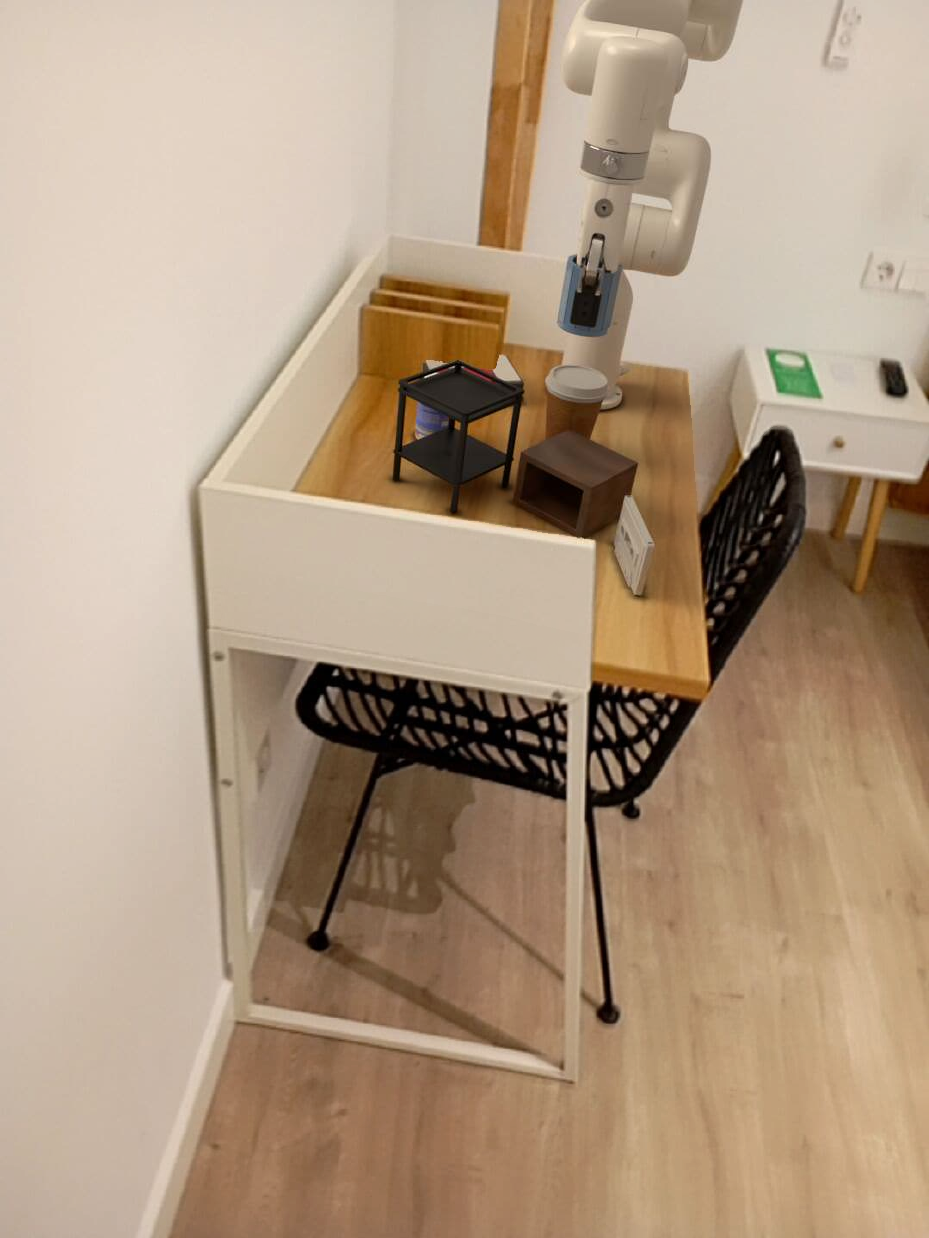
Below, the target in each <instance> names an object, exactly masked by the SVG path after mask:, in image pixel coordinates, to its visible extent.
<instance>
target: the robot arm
mask: <svg viewBox="0 0 929 1238" xmlns="http://www.w3.org/2000/svg"><path fill="white" fill-rule="evenodd" d="M743 3H744V0H585V1H583V3H582V4H581V5H580V7H579V8H578V10H577V12H576V14H575V16H574V18H573V21H572V22H571V24H570V27H569V29H568V32H567V35H566V37H565V40H564V43H563V47H562V52H561V57H560V58H561V59H560V71H561V78H562V81H563V84H565V87H566V88H567V89H568V90H569V91H571V92H573V93H575V94H578V95H583V96H590V102H589V108H588V113H587V120H586V125H585V132H584V137H583V138H584V139H583V143H582V149H581V150H582V151H581V155H580V162H579V167H578V172H579V174H580V175H582V176H583V177H585V178H587V183H586V188H585V189H586V190H585V194H584V195H585V196H584V200H583V207H582V212H581V220H580V225H579V237H578V244H577V253H576V254H577V265H578V266H579V267H580V268H581V273H580V278H579V283H578V288H577V290H575V295H574V300H573V306H572V312H571V317H570V323H571V324H574V325H580V326H586V327H591V328H594V327H595V326H596V322H597V317H598V312H599V307H600V302H601V297H602V294H600V291H601V286H602V281H603V276H604V273H605V266H606V270H611V273H614V272H616V271H617V268H618V264H619V263H620V264H621V265H622V271H621V276H620V280H619V285H618V290H617V295H616V300H615V305H614V310H613V315H612V320H611V325H610V329H609V332H608V333H607V334H606V335H604V336H600V337H584V336H578V335H574V334H571V333H568V332H566V339H565V342H564V343H565V344H564V350H563V355H562V361H561V365H570V364H571V365H581V366H586V367H589V368H592V369H595V370H597V371H599V372H601V373H602V374H604V375H605V376H606V378H607V381H608V387H609V392H608V394H607V395H606V397H605V398H604V400H603V402H602V405H601V408H600V411H603V410H608V409H612V408H615V407H616V406H618V405H620V403H621V402H622V398H623V390H622V389H621V388H620V387H619V386H618V384H617V380H618V379H619V378H620V377H621V376H623V375H626V374H628V373H629V370H630V367H629V365H628V364H627V363H626V362H621V359H622V355H623V350H624V346H625V341H626V336H627V332H628V326H629V322H630V317H631V312H632V309H633V304H634V292H633V289H632V285H631V282H630V281H629V278H628V276H627V275H626V272H625V271H632V272H633V271H634V272H640V273H646V274H650V275H655V276H662V277H677V276H680V275H681V274H682V273H683V272H684V271H685V269H686V268H687V266H688V264H689V261H690V258H691V255H692V252H693V247H694V243H695V240H696V239H695V238H696V235H697V230H698V225H699V220H700V217H701V212H702V208H703V204H704V199H705V195H706V191H707V185H708V182H709V176H710V170H711V163H712V150H711V146H710V142H709V141H708V139H706V137H704V136H702V135H700V134H698V133H695V132H690V131H683V130H677V129H672V128H670V117H671V114H672V110H673V105H674V101H675V96H676V95H678V94H679V93H680V92H681V90H682V89H683V86H684V83H685V81H686V78H687V75H688V74H687V73H688V68H689V60H695V61H700V62H717V61H719V60H721V59H723V58H724V57H725V55H726V54H727V52H729V50H730V48H731V45H732V43H733V40H734V38H735V34H736V30H737V27H738V23H739V18H740V14H741V10H742V6H743ZM633 194H635V195H640V196H641V195H642V196H647V197H652V198H657V199H662V200H663V199H664V200H666V201H667V202H669V203H670V205H671V209H669V208H663V207H657V206H650V205H647V204H646V205H645V204H643V203H638V202H637V203H636V202H632V199H633ZM586 259H587V261H588V265H585V264H586ZM603 259H604V260H603ZM599 263H603V265H602V268H600V267H598V265H599ZM585 272H586V275H585ZM597 273H598V274H599V278H598V277H596V275H597ZM596 287H597V288H596ZM595 292H596V293H595Z"/></svg>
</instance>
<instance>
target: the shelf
mask: <svg viewBox="0 0 929 1238" xmlns="http://www.w3.org/2000/svg"><path fill="white" fill-rule="evenodd" d="M638 466H639V462H638V461H637V460H634V459H632V458H630V457H628V456H626V455H623V454H621V453H619V452H617V451H616V450H613V449H611V448H609V447H607V446H604V445H602V444H601V443H598V442H596V441H594V440H593V439H591V438H590V439H588V438H586V437H584V436H582V435H579V434H577V433H575V432H573V431H571V430H567V431H565V432H562V433H560V434H558V435H556V436H554V437H552V438H550V439H548V440H545V439H544V441H541V442H539V443H537V444H535V445H532V446H531V447H528V448H527V449H524V450H522V451H520V455H519V461H518V467H517V472H516V473H517V474H516V480H515V486H514V492H513V499H512V504H515V505H516V506H518V507H520V508H521V509H524V510H526V511H528V512H530V513H531V514H533V515H534V516H537V517H538V518H540V519H542V520H544V521H546V522H547V523H550V524H552V525H554V526H555V527H557V528H559V529H561V530H563V531H565V532H567V533H568V534H570V535H572V536H574V537H576V538H578V537H582V538H583V539H584V538H586V537H588V536H589V535H591V534H593V533H594V532H596V531H598V530H599V529H601V528H603V527H605V526H606V525H608V524H610V523H611V522H613V521H615V520H616V519H618V518H620V515H621V511H622V506H623V502H624V498H625V496H632V491H633V488H634V487H633V486H634V483H635V480H636V475H637V470H638V468H639V467H638Z"/></svg>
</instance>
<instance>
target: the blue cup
mask: <svg viewBox="0 0 929 1238" xmlns="http://www.w3.org/2000/svg"><path fill="white" fill-rule="evenodd" d="M577 254H578V253H575V254H572V255H569V256H568V258H567V260H566V266H565V272H564V279H563V284H562V290H561V296H560V302H559V308H558V314H557V321H556V324H557V326H558V328H559V329H561V330H562V331H564V332H566V333H567V332H568V333H571V334H574V335H578V336H584V337H600V336H604V335H606V334H607V333H608V332H609V329H610V325H611V320H612V315H613V310H614V305H615V300H616V295H617V290H618V285H619V280H620V276H621V271H622V265H621V264H620V263H619V264H618V268H617V271H616V272H614V273H611V270H606V266H605V273H604V276H603V281H602V286H601V291H600V294H602V297H601V302H600V307H599V312H598V317H597V322H596V326H595V327H594V328H591V327H586V326H580V325H574V324H571V323H570V317H571V312H572V306H573V300H574V295H575V290H577V288H578V283H579V278H580V273H581V268H580V267H579V266H578V265H577ZM603 260H604V259H603ZM585 265H588V261H587V259H586V264H585ZM602 265H603V263H599V265H598V267H600V268H602ZM585 275H586V272H585ZM596 277H598V278H599V274H598V273H597V275H596ZM596 288H597V287H596ZM595 293H596V292H595Z"/></svg>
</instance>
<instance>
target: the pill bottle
mask: <svg viewBox="0 0 929 1238" xmlns="http://www.w3.org/2000/svg"><path fill="white" fill-rule="evenodd" d="M435 374H438V373H433V374H431V375H428V376H425V377H424V378H426V377H429V376H432V375H435ZM448 422H449V417H447V416H445V415H443V414H441V413H439V412H438V411H436V410H434V409H432V408H430V407H428V406H426V405H424V404H422V403H420V402H418V401H417V407H416V420H415V429H414V436H415V438H416V440H418V439H420V438H423V437H425V436H428V435H430V434H433V433H435V432H437V431H440V430H442V429H445V428H447V427H448Z"/></svg>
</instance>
